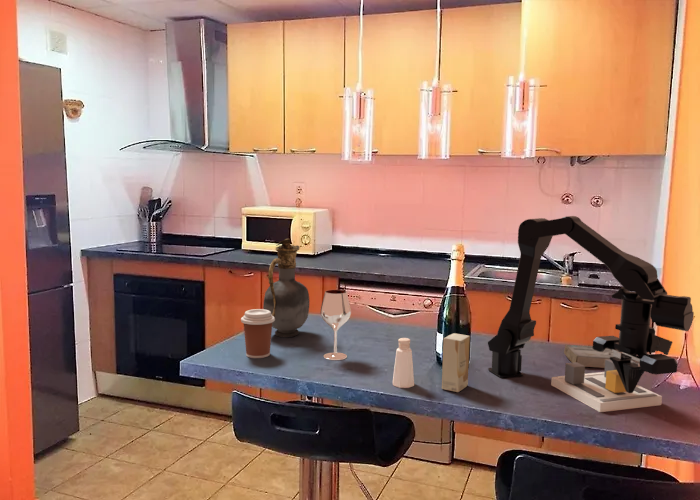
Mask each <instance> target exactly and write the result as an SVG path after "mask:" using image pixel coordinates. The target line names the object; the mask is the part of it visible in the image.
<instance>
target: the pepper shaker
mask: <svg viewBox="0 0 700 500" xmlns="http://www.w3.org/2000/svg"><path fill="white" fill-rule="evenodd" d="M397 341H398V348H396V352H395V360H394V368H393V375H392V376H393V377H392V386H393V387H396V388H399V389H410V388H412V387H414V386H415V377H414V366H413V365H414V364H413V351H412V348H411V347H410V346H411V339H410V338H408V337H401V338H398V340H397Z"/></svg>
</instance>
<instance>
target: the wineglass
mask: <svg viewBox="0 0 700 500" xmlns="http://www.w3.org/2000/svg"><path fill="white" fill-rule="evenodd" d="M347 292H348V291H346V290H344V289H343V290H342V289H329V290H328V289H327V290H325V291H324V295H323V299H322V302H321V305H320V317H321V318H322V320H323V321H324V322H325V324H326V325H328V326H329V327H330V328H331V329H332V330H333V352H327V353H324V355H323V358H324V359H326V360H327V361H342V360H346V359H347V357H348V356H347V354H345V353H342V352H338V348H337V347H338V340H337V339H338V331H339V329H340V328H341V327H342V326H343V325H345V324H346V322H348V321H349V320H350V319H349V318H350V317H351V315H352V309H351V305H350V300H349V296H348V293H347Z"/></svg>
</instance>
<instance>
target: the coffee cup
mask: <svg viewBox="0 0 700 500" xmlns="http://www.w3.org/2000/svg"><path fill="white" fill-rule="evenodd" d="M274 321H275V318H274V316H272V315H271V312H270V311H269V310H265V309H263V308H256V309H255V308H254V309H253V308H252V309H249V310H246V311H245V312H244V315H243V316H242V317H241V318H240V322H241V323H242V324H243V332H244V345H245V355H246V357H247V358H251V359H263V358H267V357H269V356H270V355H271V345H272V330H273V327H272V322H274Z"/></svg>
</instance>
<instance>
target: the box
mask: <svg viewBox="0 0 700 500" xmlns="http://www.w3.org/2000/svg"><path fill="white" fill-rule="evenodd" d="M563 354H564V355H565V357H566V358H567V359H568V361H570V363H575V362H577V363H579V364H581V365H583V366H585V368H588V367H590V368H602V369H605V360H609V359H610V357H613V351H612V350H611V349H608V348H605V350H604V351H603V352H599V351H597V350H594V349H593V345H580V344H579V345H578V344H565V346H564V350H563Z"/></svg>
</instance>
